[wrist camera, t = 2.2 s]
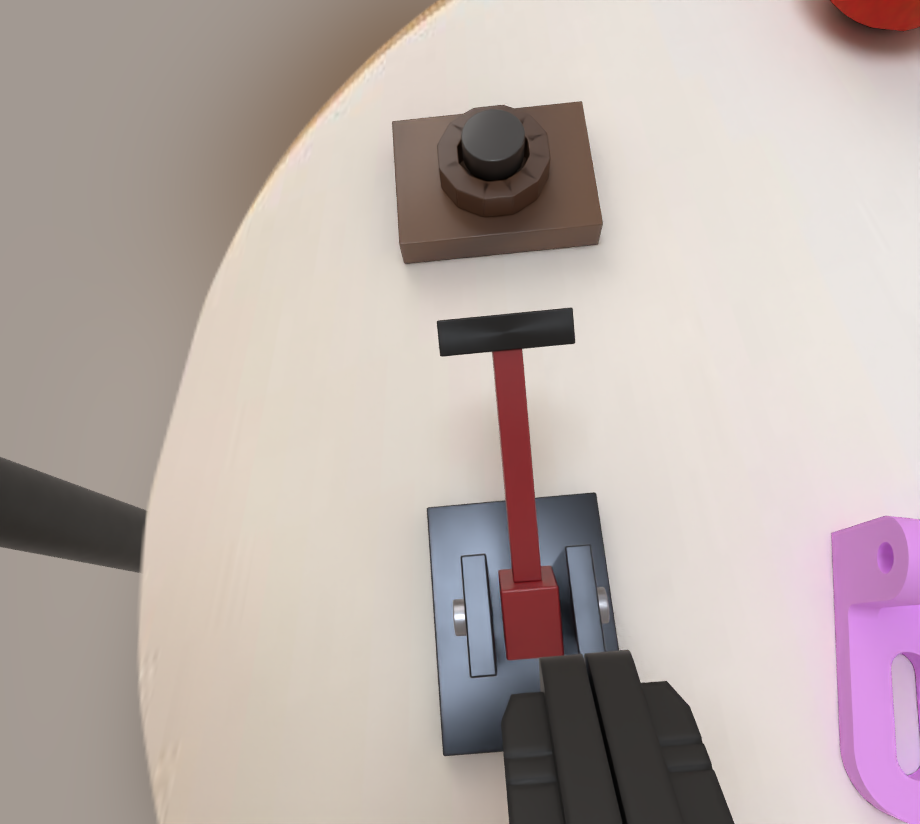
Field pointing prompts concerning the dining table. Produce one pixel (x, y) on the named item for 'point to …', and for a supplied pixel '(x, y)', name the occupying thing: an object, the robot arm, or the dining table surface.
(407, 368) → the dining table surface
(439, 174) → the button block
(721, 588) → the dining table surface
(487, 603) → the pivot stand
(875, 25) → the apple
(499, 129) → the desk button
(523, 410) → the lever handle
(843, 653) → the bracket
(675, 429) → the dining table surface
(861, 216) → the dining table surface
